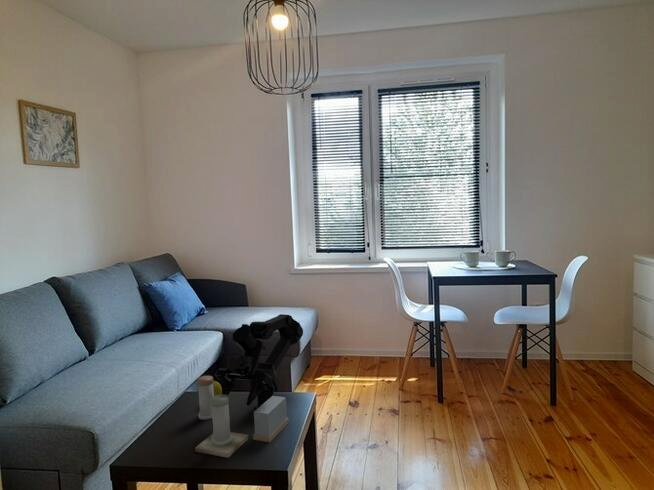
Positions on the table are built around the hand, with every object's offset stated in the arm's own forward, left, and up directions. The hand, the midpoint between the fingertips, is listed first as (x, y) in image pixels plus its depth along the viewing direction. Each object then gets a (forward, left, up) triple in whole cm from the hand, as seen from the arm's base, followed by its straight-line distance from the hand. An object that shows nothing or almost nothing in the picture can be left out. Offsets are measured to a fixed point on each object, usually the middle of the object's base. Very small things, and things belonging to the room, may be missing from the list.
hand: (234, 403), depth 142 cm
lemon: (-17, -20, -9) cm, 28 cm away
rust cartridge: (-7, -16, -9) cm, 20 cm away
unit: (-4, +10, -9) cm, 14 cm away
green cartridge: (+8, 0, -8) cm, 11 cm away
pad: (+8, 0, -9) cm, 12 cm away
